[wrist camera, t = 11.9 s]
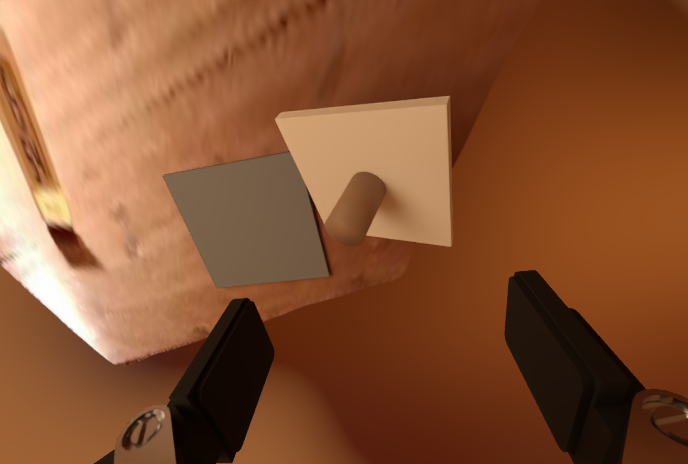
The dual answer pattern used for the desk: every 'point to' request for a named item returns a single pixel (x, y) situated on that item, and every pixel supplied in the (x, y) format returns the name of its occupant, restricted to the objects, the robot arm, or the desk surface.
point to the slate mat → (251, 220)
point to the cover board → (377, 168)
